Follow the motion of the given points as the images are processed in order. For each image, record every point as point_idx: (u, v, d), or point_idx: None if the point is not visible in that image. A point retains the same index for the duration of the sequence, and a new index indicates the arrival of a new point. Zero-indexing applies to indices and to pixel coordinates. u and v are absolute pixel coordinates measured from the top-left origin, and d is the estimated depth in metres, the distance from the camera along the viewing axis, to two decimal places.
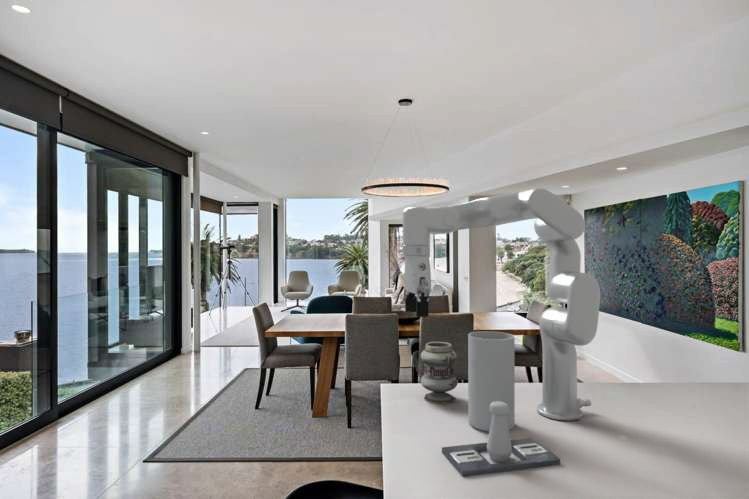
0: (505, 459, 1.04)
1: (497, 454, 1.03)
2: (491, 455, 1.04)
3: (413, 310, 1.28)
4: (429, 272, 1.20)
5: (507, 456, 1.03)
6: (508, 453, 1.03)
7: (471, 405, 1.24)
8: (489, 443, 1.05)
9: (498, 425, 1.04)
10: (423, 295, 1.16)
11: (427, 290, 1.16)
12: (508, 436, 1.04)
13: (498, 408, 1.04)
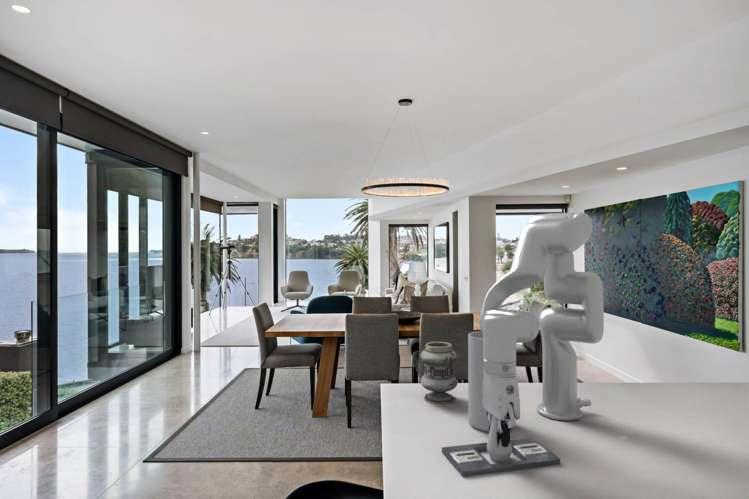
0: (505, 459, 1.04)
1: (497, 454, 1.03)
2: (491, 455, 1.04)
3: None
4: (518, 395, 1.01)
5: (507, 456, 1.03)
6: (508, 453, 1.03)
7: (471, 405, 1.24)
8: (489, 443, 1.05)
9: None
10: (506, 427, 1.01)
11: (513, 427, 1.00)
12: None
13: None
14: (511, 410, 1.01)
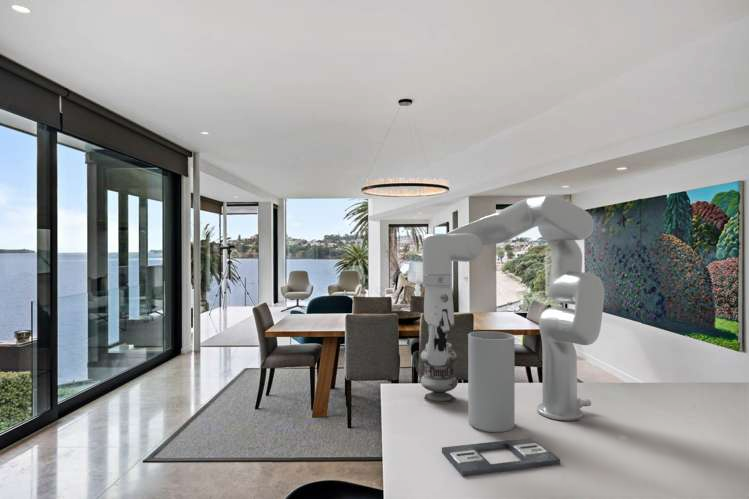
0: (441, 363, 1.15)
1: (434, 358, 1.14)
2: (429, 360, 1.16)
3: None
4: (452, 304, 1.13)
5: (443, 360, 1.15)
6: (444, 357, 1.14)
7: (471, 405, 1.24)
8: (428, 349, 1.16)
9: None
10: (441, 332, 1.12)
11: (446, 331, 1.11)
12: None
13: None
14: (445, 316, 1.12)
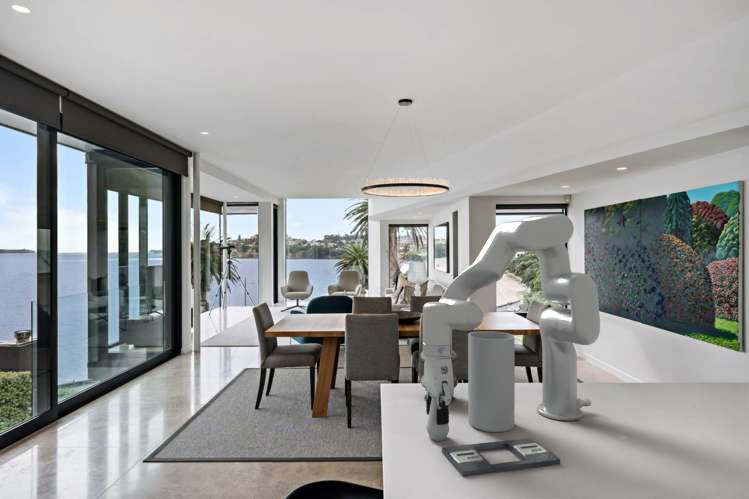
0: (442, 438, 1.15)
1: (434, 433, 1.14)
2: (430, 434, 1.16)
3: None
4: (452, 375, 1.13)
5: (443, 435, 1.15)
6: (444, 432, 1.15)
7: (471, 405, 1.24)
8: (428, 424, 1.16)
9: (436, 407, 1.15)
10: (444, 404, 1.11)
11: (449, 401, 1.10)
12: None
13: None
14: None
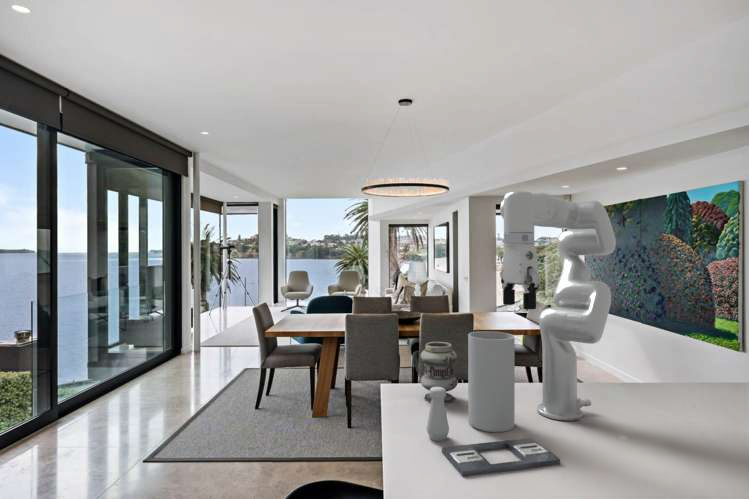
0: (442, 438, 1.15)
1: (434, 433, 1.14)
2: (430, 435, 1.16)
3: (511, 303, 1.20)
4: (536, 261, 1.11)
5: (443, 436, 1.15)
6: (444, 433, 1.14)
7: (471, 405, 1.24)
8: (428, 424, 1.16)
9: (436, 407, 1.15)
10: (533, 286, 1.08)
11: (538, 280, 1.08)
12: (445, 418, 1.16)
13: (435, 392, 1.15)
14: None
